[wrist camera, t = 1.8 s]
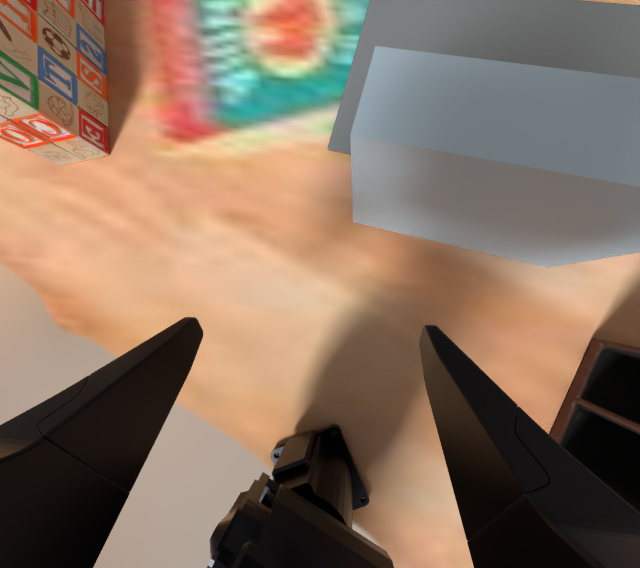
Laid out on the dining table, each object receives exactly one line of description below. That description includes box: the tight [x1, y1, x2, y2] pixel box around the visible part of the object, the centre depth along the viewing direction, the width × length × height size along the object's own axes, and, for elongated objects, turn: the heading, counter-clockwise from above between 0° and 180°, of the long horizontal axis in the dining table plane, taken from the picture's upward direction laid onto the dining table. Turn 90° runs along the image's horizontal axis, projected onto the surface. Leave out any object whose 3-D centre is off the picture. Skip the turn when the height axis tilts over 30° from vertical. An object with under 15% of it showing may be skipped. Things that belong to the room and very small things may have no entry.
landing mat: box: [328, 0, 640, 154], centre depth 21 cm, size 16×24×1 cm, turn 74°
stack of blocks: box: [0, 0, 109, 165], centre depth 22 cm, size 21×6×12 cm, turn 7°
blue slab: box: [350, 46, 640, 268], centre depth 15 cm, size 4×16×12 cm, turn 74°
